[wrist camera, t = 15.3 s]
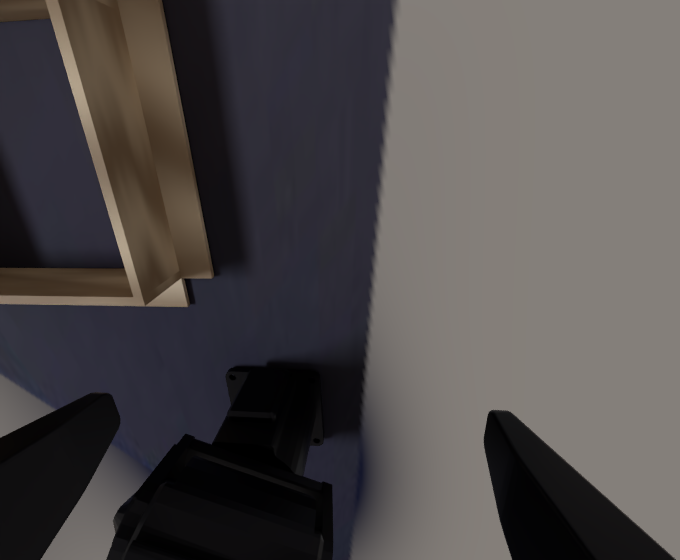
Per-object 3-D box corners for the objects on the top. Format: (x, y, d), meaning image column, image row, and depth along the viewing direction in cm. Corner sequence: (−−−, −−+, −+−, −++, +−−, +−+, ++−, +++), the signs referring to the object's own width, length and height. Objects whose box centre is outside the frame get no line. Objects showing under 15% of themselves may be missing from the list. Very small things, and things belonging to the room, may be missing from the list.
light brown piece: (219, 305, 23) (189, 339, 19) (-30, 301, 24) (-102, 332, 21) (150, -60, 15) (79, -119, 12) (-195, -27, 17) (-350, -69, 14)
